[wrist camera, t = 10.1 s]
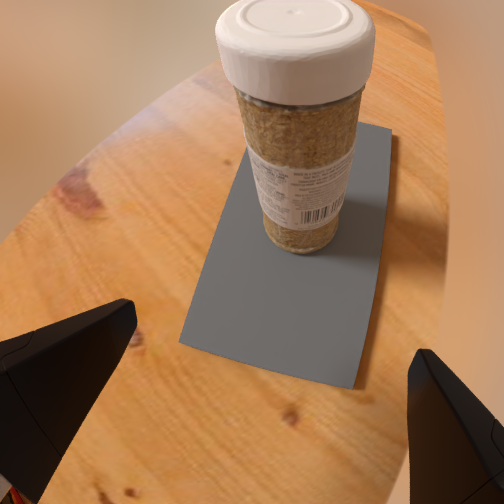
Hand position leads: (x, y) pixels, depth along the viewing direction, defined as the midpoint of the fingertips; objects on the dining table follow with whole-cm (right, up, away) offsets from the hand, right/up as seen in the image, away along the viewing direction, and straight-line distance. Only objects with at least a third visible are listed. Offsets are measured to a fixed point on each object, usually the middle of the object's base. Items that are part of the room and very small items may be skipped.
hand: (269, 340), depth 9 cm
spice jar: (+2, +4, +10) cm, 11 cm away
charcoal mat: (+3, +4, +11) cm, 12 cm away
